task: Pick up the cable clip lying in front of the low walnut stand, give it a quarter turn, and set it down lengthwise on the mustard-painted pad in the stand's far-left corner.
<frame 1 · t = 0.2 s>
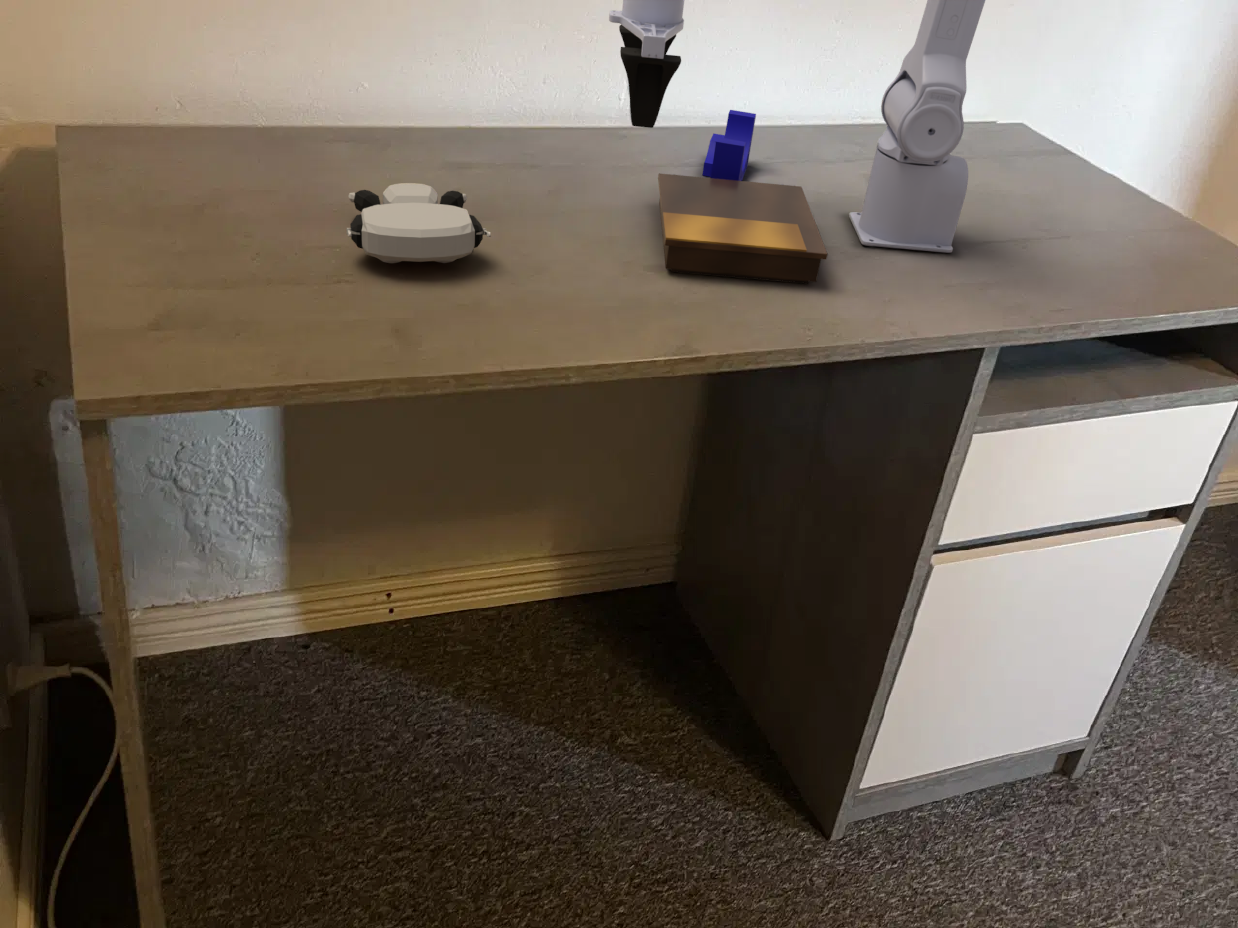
hand: (641, 113, 113), 10 cm above the table, tool pointing down, fingers open, 7 cm apart
cable clip: (721, 180, 129), on the table
walnut stand: (732, 245, 113), on the table
robot toy: (414, 247, 106), on the table
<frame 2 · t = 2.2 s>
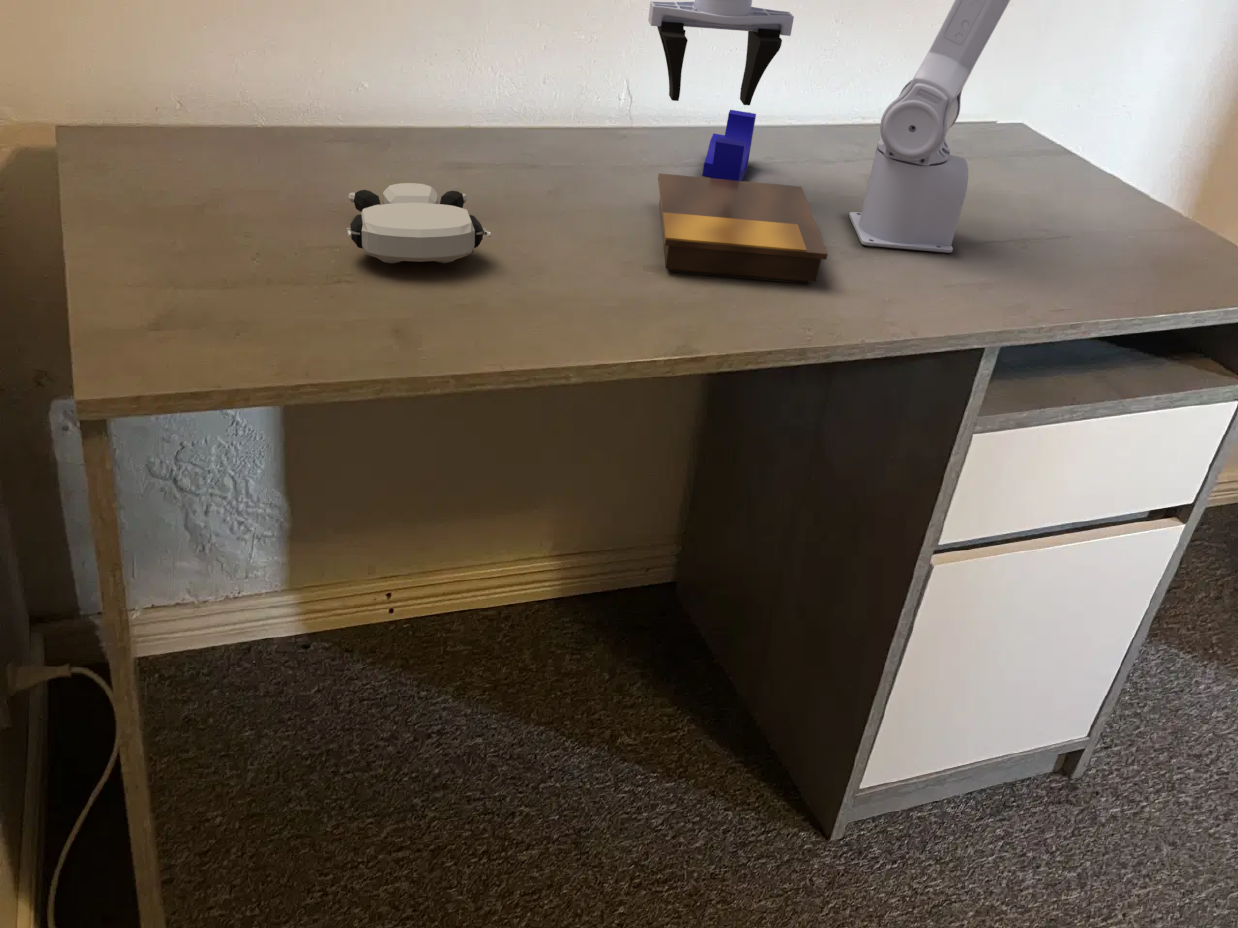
hand: (709, 100, 120), 10 cm above the table, tool pointing down, fingers open, 7 cm apart
nothing on the table moved.
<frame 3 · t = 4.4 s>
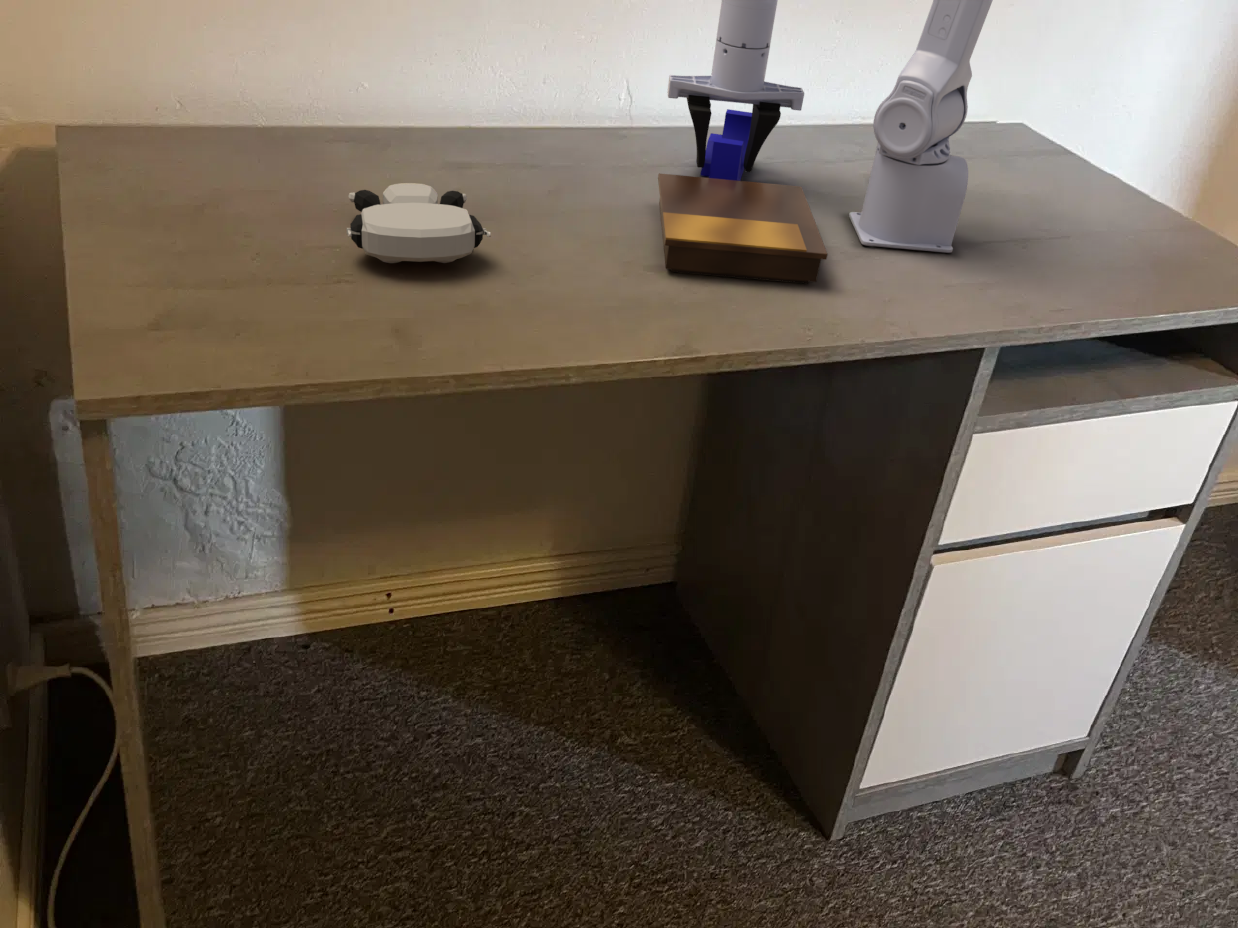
hand: (724, 166, 128), 1 cm above the table, tool pointing down, fingers closed on cable clip, 5 cm apart
cable clip: (720, 180, 129), on the table, touching gripper
everything else where it was.
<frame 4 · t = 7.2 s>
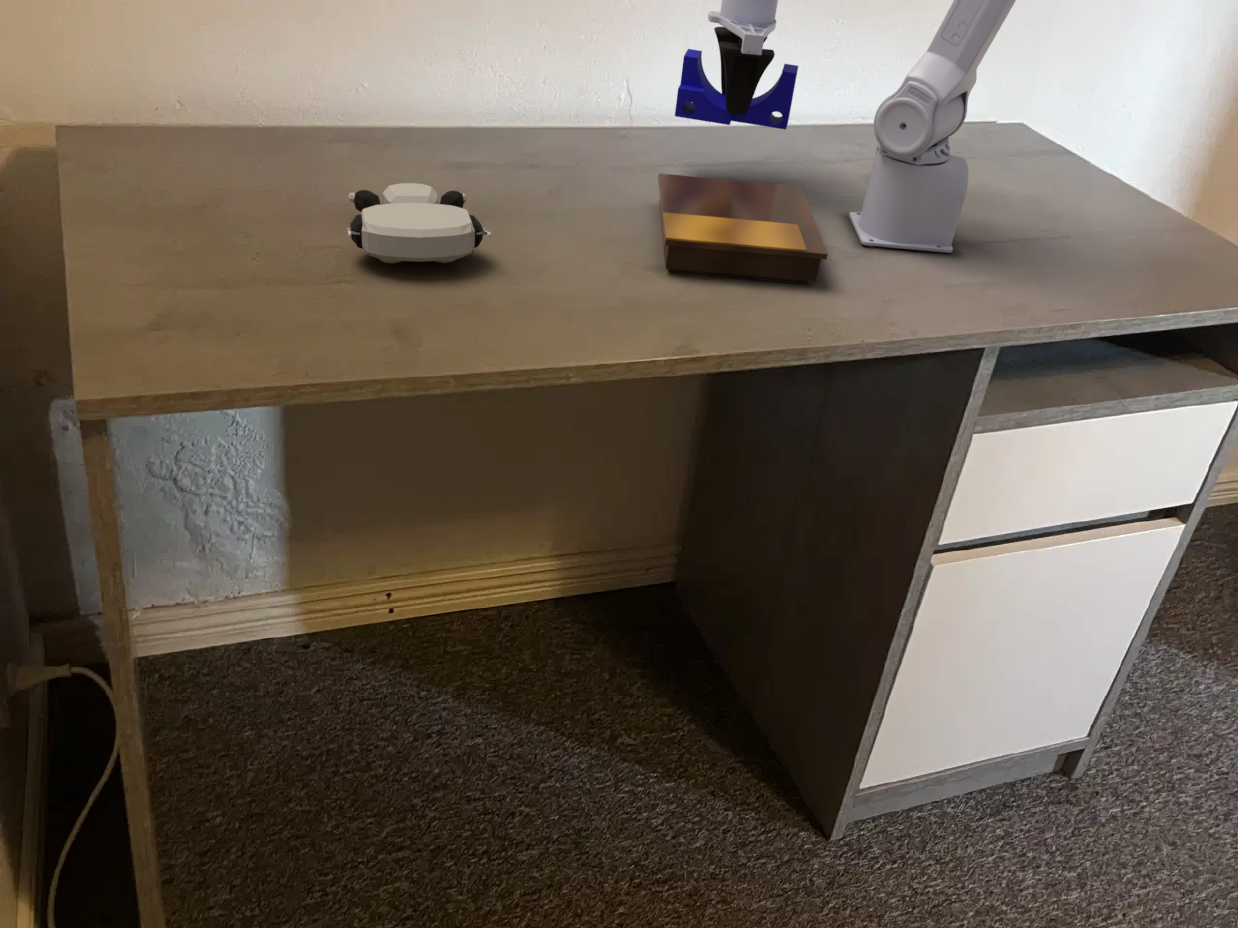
hand: (733, 105, 124), 8 cm above the table, tool pointing down, fingers closed on cable clip, 5 cm apart
cable clip: (731, 120, 124), point 7 cm above the table, touching gripper
everything else where it was.
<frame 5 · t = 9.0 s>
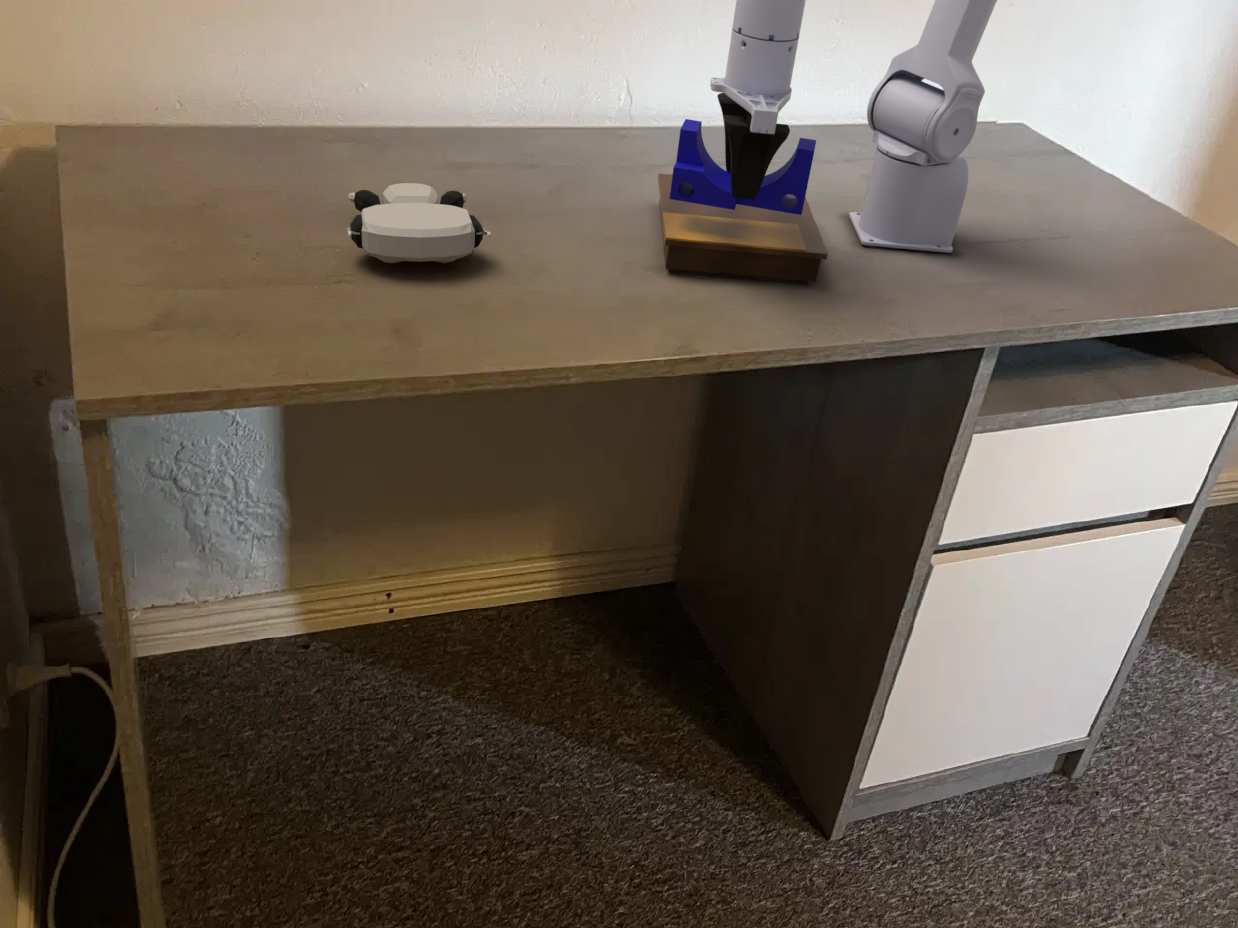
hand: (740, 186, 104), 8 cm above the table, tool pointing down, fingers closed on cable clip, 5 cm apart
cable clip: (737, 203, 105), point 6 cm above the table, touching gripper
everything else where it was.
when the fingers open (5 cm above the table, at t = 10.4 s): cable clip stays where it is, resting on walnut stand.
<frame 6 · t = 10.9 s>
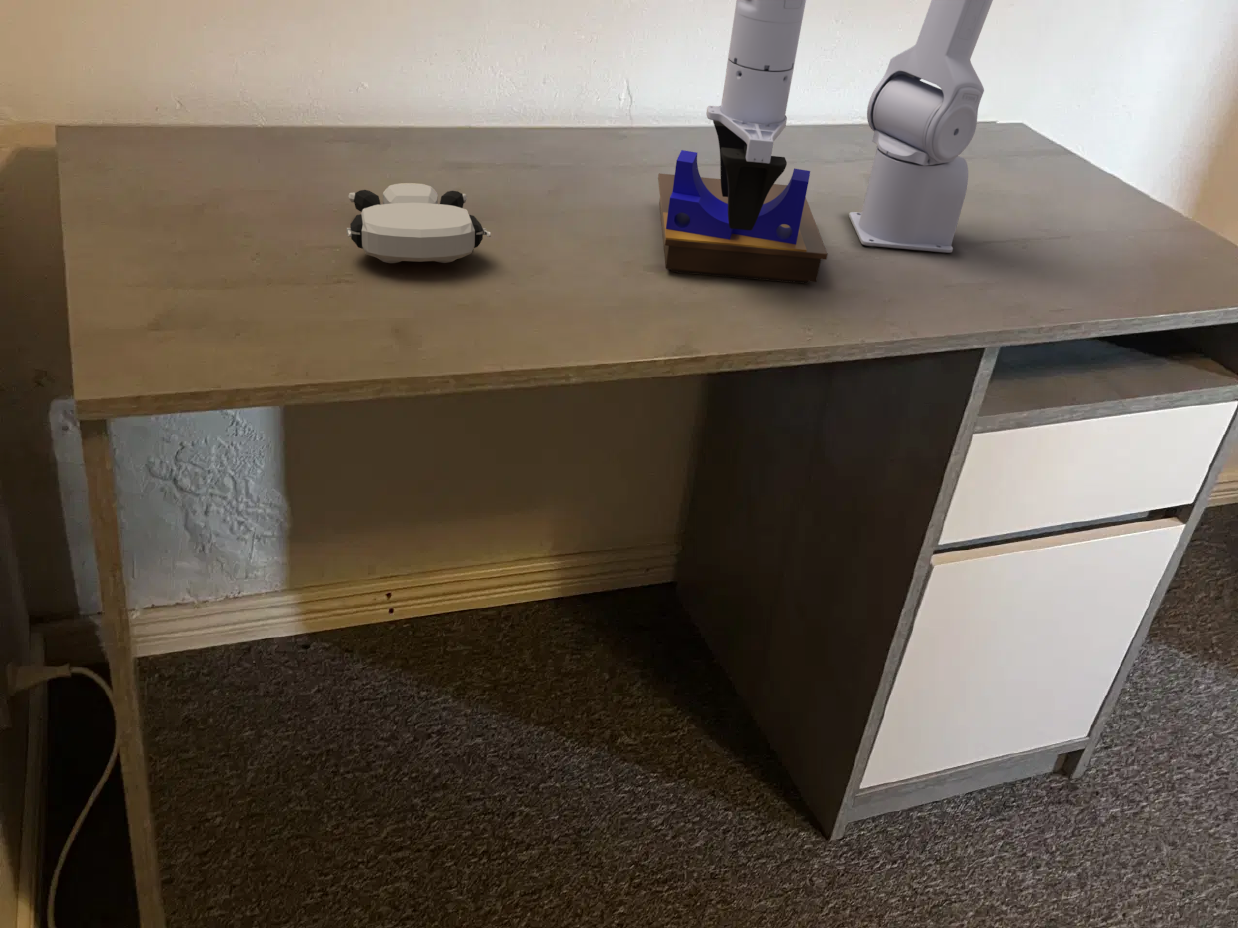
hand: (736, 211, 106), 6 cm above the table, tool pointing down, fingers open, 7 cm apart
cable clip: (732, 232, 107), point 4 cm above the table, touching walnut stand
everything else where it was.
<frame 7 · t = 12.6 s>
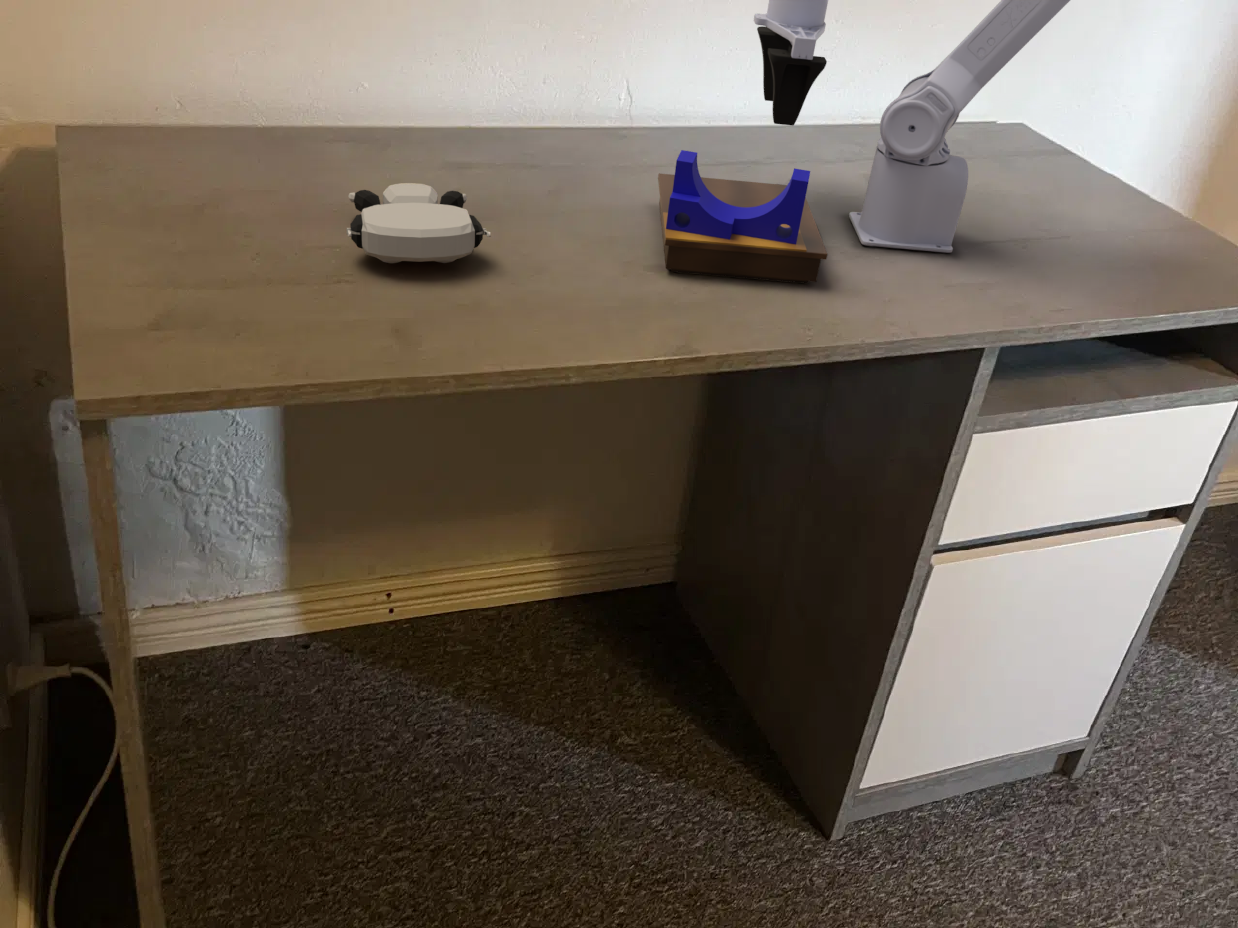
hand: (778, 112, 118), 10 cm above the table, tool pointing down, fingers open, 7 cm apart
nothing on the table moved.
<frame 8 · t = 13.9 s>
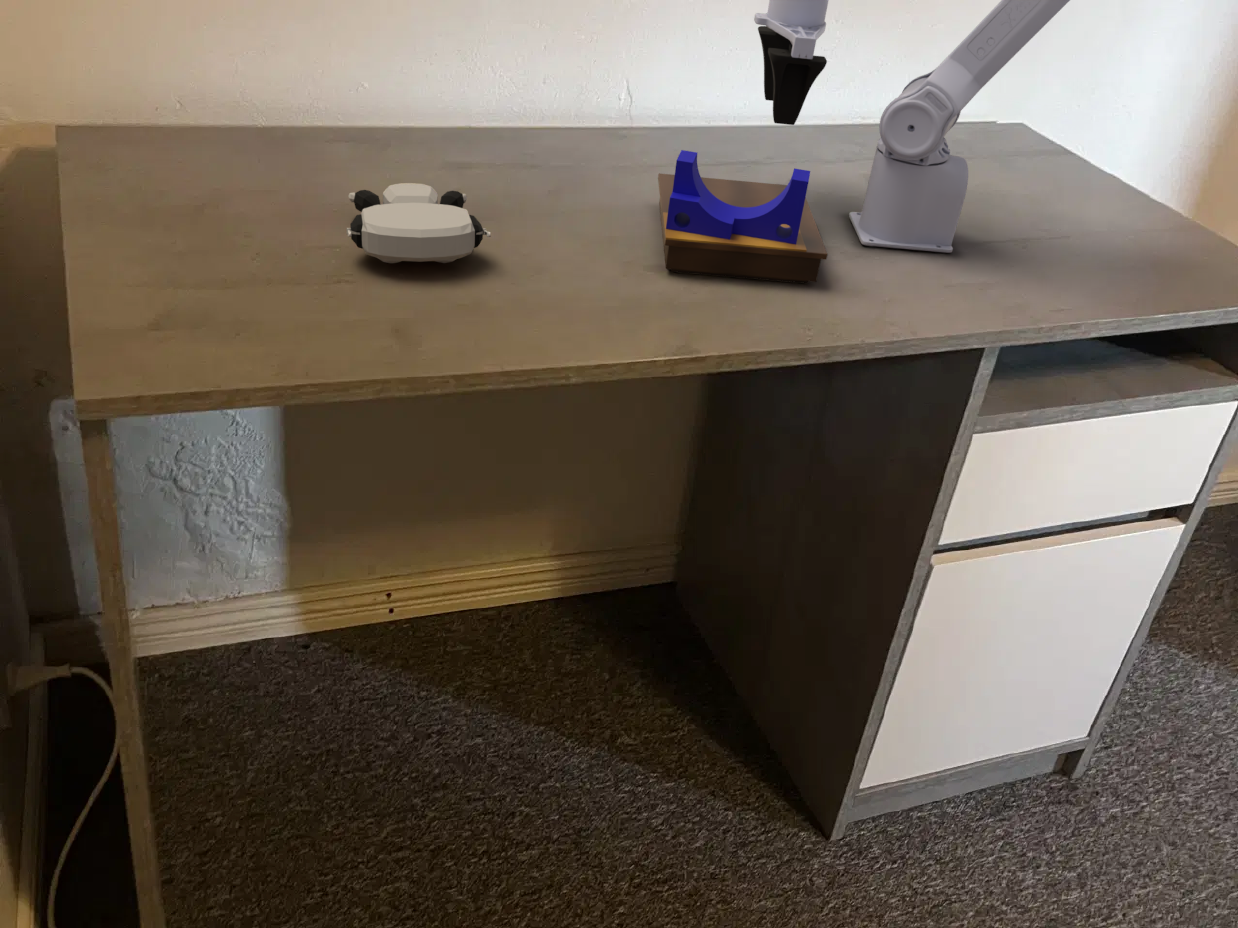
hand: (779, 111, 118), 10 cm above the table, tool pointing down, fingers open, 7 cm apart
nothing on the table moved.
at the end: cable clip 0.1 cm from the target spot, point 3.6 cm above the table; cable clip tilted 0°; the gripper is holding nothing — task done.
